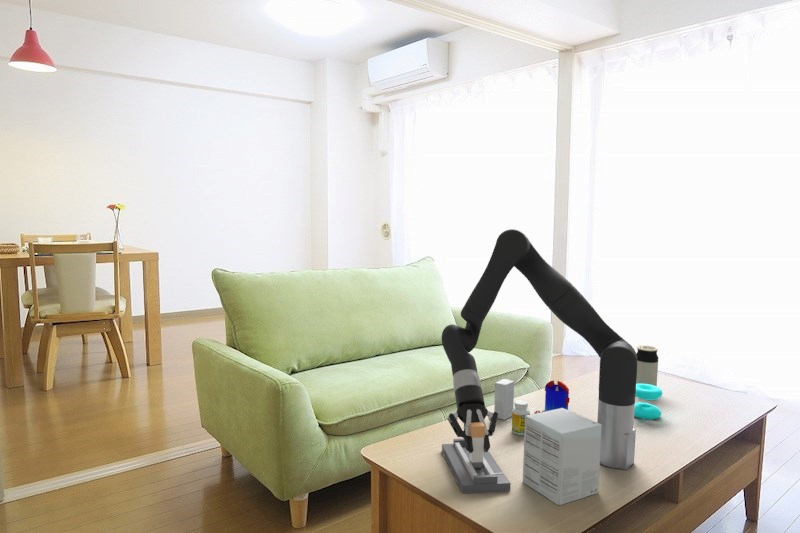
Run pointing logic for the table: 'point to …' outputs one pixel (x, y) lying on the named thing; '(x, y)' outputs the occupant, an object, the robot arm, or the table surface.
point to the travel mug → (647, 365)
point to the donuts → (647, 409)
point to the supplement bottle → (519, 417)
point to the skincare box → (504, 398)
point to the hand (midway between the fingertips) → (478, 451)
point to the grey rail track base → (474, 470)
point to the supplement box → (562, 455)
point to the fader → (477, 443)
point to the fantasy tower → (556, 396)
